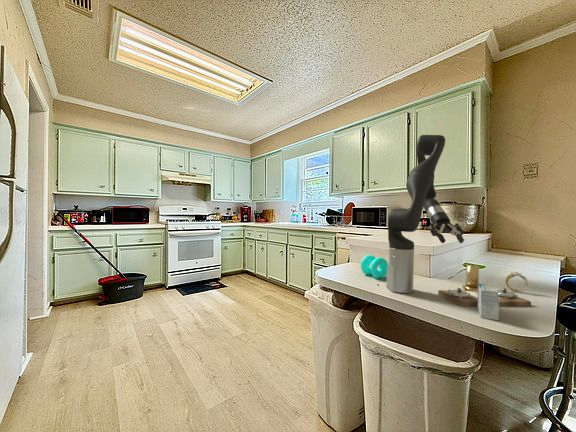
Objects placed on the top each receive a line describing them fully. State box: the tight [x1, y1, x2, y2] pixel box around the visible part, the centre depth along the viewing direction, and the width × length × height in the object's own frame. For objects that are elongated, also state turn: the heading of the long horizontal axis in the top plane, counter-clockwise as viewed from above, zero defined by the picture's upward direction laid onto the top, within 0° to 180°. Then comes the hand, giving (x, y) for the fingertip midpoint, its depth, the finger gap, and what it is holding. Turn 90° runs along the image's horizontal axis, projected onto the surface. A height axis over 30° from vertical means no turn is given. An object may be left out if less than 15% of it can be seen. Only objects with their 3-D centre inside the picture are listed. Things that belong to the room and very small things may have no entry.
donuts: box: [360, 254, 389, 279], centre depth 123 cm, size 10×10×10 cm
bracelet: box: [504, 271, 530, 293], centre depth 101 cm, size 7×3×8 cm, turn 56°
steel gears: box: [448, 287, 519, 299], centre depth 92 cm, size 24×7×3 cm, turn 92°
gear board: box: [437, 289, 532, 307], centre depth 92 cm, size 25×12×2 cm, turn 92°
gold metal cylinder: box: [462, 264, 480, 290], centre depth 103 cm, size 7×6×10 cm
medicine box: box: [477, 283, 500, 321], centre depth 78 cm, size 8×4×9 cm, turn 148°
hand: (453, 242), depth 114 cm, fingers open, 8 cm apart
